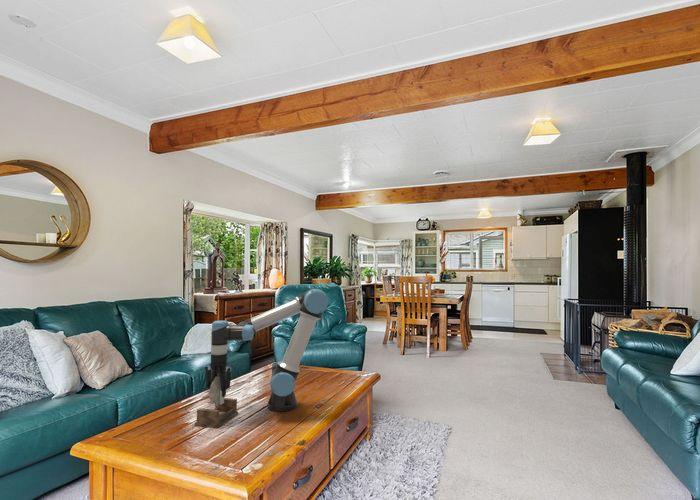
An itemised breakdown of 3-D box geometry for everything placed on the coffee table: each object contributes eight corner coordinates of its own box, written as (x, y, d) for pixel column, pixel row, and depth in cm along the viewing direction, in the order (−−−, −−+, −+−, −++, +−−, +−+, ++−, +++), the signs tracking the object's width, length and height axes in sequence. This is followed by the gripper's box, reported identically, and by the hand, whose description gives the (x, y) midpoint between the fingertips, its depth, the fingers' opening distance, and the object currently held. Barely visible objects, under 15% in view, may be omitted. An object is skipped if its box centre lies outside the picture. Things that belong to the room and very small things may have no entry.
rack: (238, 414, 188) (238, 399, 189) (218, 428, 171) (218, 411, 171) (216, 412, 191) (217, 397, 191) (194, 425, 173) (195, 409, 174)
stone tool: (213, 411, 175) (212, 378, 176) (206, 410, 176) (206, 377, 178) (228, 403, 186) (227, 372, 187) (222, 403, 187) (221, 372, 188)
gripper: (239, 352, 185) (237, 402, 183) (208, 351, 189) (206, 399, 187) (230, 355, 178) (229, 407, 176) (198, 353, 181) (197, 404, 180)
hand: (217, 403), depth 181 cm, fingers closed on stone tool, 4 cm apart
